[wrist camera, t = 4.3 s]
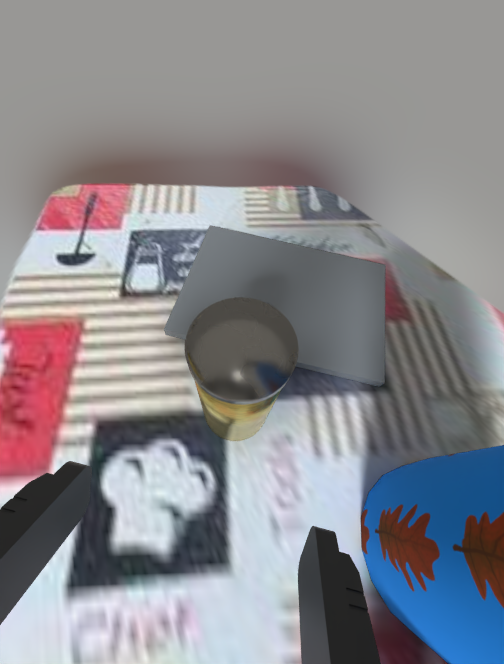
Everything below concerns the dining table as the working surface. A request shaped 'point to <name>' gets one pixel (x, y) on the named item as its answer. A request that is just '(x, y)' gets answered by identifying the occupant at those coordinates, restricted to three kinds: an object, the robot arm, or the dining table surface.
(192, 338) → the canister
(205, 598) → the dining table surface
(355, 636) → the robot arm
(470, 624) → the thermos
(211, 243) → the slate board
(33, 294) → the dining table surface
